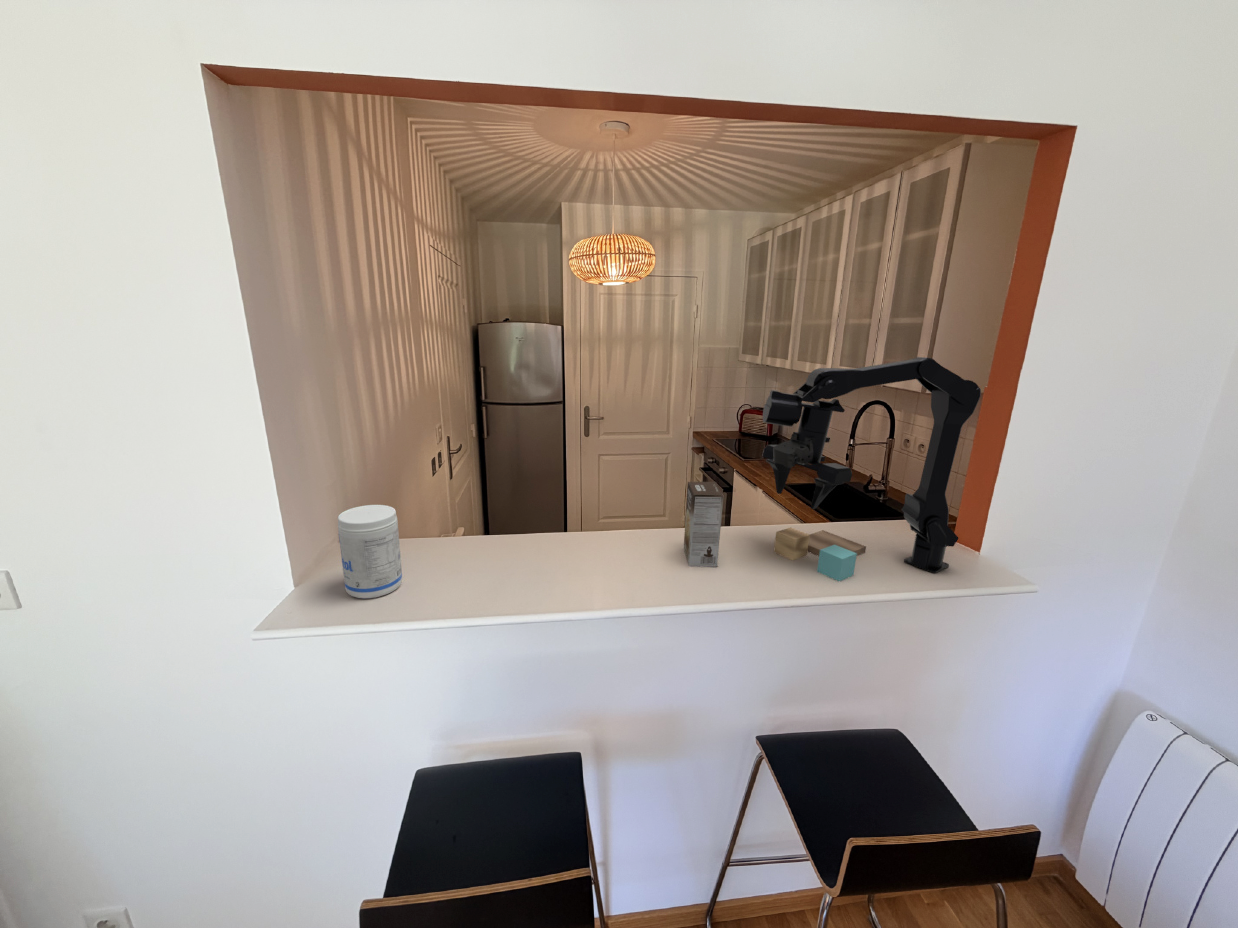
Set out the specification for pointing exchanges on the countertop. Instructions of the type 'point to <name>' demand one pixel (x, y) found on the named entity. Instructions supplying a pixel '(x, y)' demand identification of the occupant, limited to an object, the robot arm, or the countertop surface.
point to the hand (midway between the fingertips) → (795, 500)
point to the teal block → (836, 562)
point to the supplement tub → (370, 550)
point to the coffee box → (703, 523)
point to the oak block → (791, 543)
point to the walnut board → (832, 543)
